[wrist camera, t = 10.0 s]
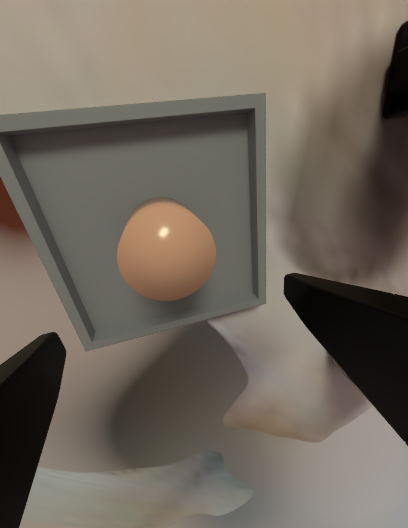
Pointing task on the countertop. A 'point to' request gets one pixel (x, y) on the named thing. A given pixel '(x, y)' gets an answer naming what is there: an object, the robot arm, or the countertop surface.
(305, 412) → the countertop surface
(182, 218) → the tan rounded cone
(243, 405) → the countertop surface
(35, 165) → the tray
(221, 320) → the countertop surface
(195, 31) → the countertop surface
